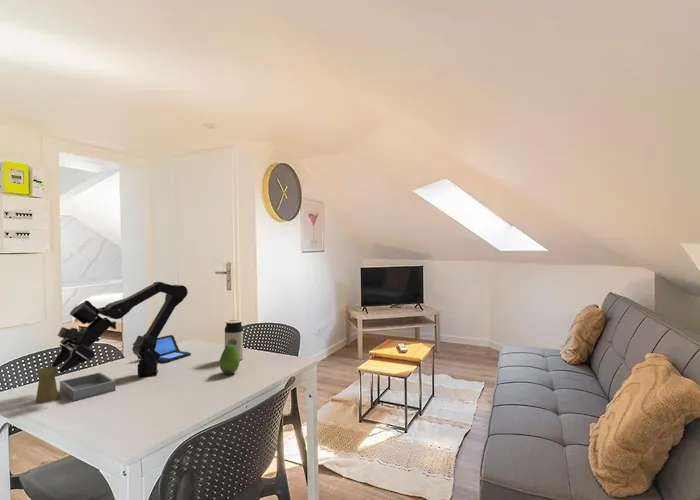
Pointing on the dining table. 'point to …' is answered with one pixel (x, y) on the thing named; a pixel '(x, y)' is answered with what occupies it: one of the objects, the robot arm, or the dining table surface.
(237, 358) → the avocado
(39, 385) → the cork
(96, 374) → the tray
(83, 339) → the robot arm
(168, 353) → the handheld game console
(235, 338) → the travel mug
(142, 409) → the dining table surface
